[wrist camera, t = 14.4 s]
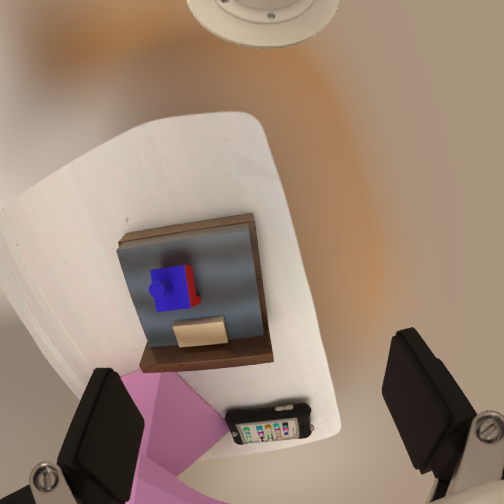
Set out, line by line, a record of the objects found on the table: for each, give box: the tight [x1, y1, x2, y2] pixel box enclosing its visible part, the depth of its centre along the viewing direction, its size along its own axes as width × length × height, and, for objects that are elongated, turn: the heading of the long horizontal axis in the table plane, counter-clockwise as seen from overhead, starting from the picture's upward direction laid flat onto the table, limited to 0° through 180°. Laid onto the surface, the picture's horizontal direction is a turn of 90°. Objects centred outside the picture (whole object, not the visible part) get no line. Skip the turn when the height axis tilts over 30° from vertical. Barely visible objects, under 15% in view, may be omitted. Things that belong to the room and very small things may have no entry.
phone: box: [225, 403, 314, 445], centre depth 50 cm, size 11×15×4 cm
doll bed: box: [116, 213, 274, 373], centre depth 35 cm, size 15×16×9 cm
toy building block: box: [149, 265, 201, 312], centre depth 30 cm, size 4×4×8 cm
